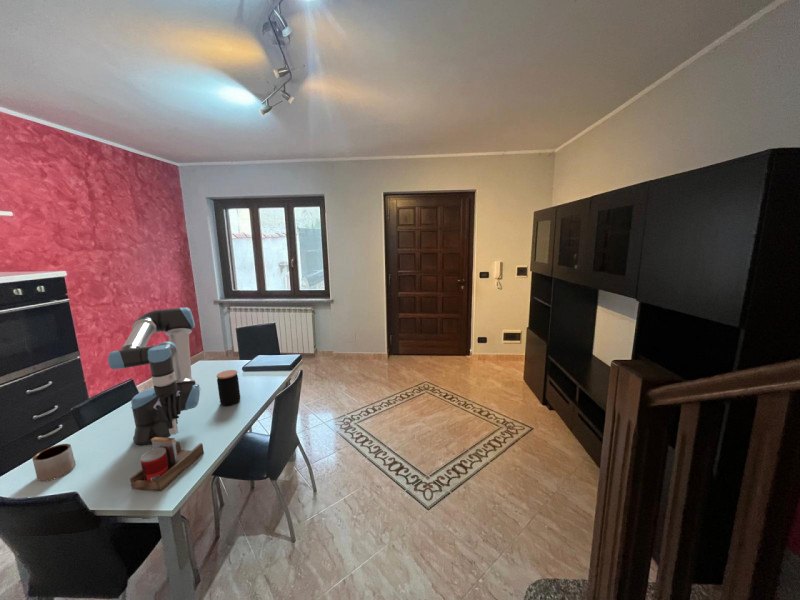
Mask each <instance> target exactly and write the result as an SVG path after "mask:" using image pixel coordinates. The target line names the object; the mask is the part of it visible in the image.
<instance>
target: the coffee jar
mask: <svg viewBox="0 0 800 600" xmlns="http://www.w3.org/2000/svg"><path fill="white" fill-rule="evenodd" d="M216 378H217V379H216V382H217V390H218V398H219V403H220V405H222V407H224V406H225V407H229V406H234V405H236V404H237V403H239V402H240V400H241V390H240V384H239V376H238V370H235V369H228V370H223V371H220V372H218V373H217V374H216Z"/></svg>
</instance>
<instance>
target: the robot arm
mask: <svg viewBox="0 0 800 600" xmlns="http://www.w3.org/2000/svg"><path fill="white" fill-rule="evenodd" d="M195 327H196V323H195V320H194V316H193V313H192V310H191V308H190V307H176V308H175V307H174V308H167V309H166V308H164V309H156V310H152V311H149V312H146V313H144V314H143V315H141V316H139V317H138V318H137V319H136V320H135V321H134V322H133V324H132V327H131V330H132V331H131V332H130V334H129V336H128V337H127V339H126V341H125V342H124V343H123V345H122V347H121V348H120V350H119V349H118V350H114V351H110V352H109V353H108V356H107V357H108V358H107V362H108V365H109V368H110V369H112V370H119V369H127V368H132V367H133V368H135V367H139V366H145V365H149V369H150V373H151V380H152V385H153V387H151V388H149V389H146V390H142V391H140V392H138V393H137V394H136V395H134V396H133V397H132V398H131V403H130V404H131V409H132V415H133V419H134V425H135V428H134V435H133V439H132V442H133V444H134V446H137V447H145V446H146V447H147V446H150V445H152V442H151V439H152V438H154V437H163V438H169V437H170V436H171V435H175V436H176V435H177V434H178V433H179V429H178V419H179V418H180V416H179V415H181V414H182V413H181V412H183V411H188V410H192V409H195V408H196V407H197V406H198V405H199V401H200V393H201V392H200V391H201V389H200V390H199V388H201V387H200V384H198V383H196V380H195V379H193V377H192V362H191V351H190V350H191V349H190V334H191V333H192V332H193V329H194V328H195ZM160 332H165V335H166V336H168V341H163V342H161V343H159V344H158V345H157V344H155V345H149V346H147V344H148V342H149V340H150V338H151V336H153V335H154V334H156V333H160Z"/></svg>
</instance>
